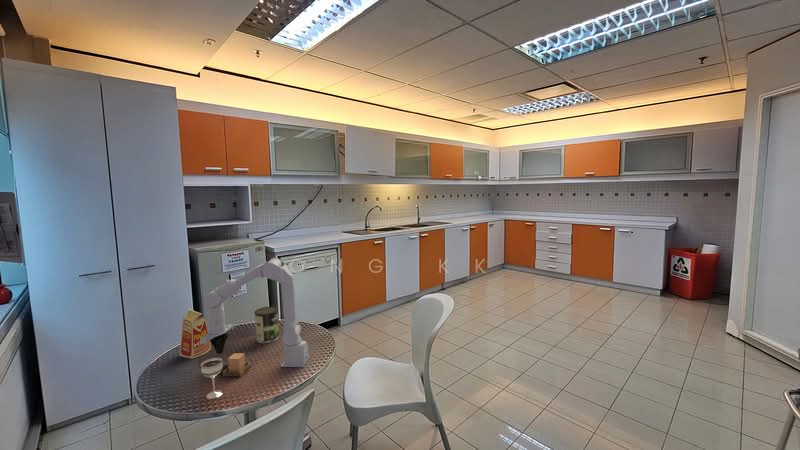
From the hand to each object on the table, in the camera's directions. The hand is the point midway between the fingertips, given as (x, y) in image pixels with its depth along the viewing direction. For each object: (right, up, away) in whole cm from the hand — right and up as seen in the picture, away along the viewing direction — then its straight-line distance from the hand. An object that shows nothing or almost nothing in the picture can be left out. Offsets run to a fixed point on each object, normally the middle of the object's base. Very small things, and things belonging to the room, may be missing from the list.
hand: (219, 352), depth 135 cm
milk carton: (-18, -5, +14) cm, 23 cm away
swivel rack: (+4, -6, -2) cm, 8 cm away
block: (+8, -7, -2) cm, 11 cm away
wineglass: (+7, -9, -16) cm, 20 cm away
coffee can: (+9, -3, +27) cm, 29 cm away
